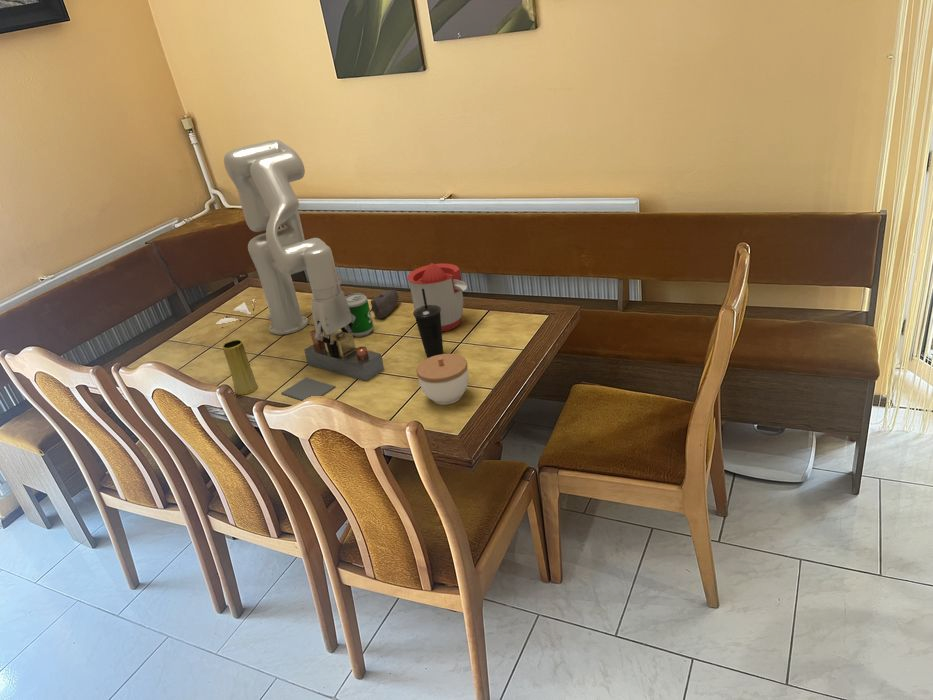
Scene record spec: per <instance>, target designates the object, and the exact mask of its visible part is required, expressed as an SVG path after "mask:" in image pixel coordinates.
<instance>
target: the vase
mask: <svg viewBox="0 0 933 700" xmlns="http://www.w3.org/2000/svg"><path fill="white" fill-rule="evenodd" d="M222 350H223V353H224V356H225V359H226V363H227V365H228V368H229V371H230V373H231V378H232V382H233V383H232V384H233V388H234V391H235V394H237V395H242V396H244V394H245V395H249V394H252V393H253V392H254V391H256V390H257V389H258V388H259V387H258V384H257V381H256V378H255V375H254V372H253V369H252V367H251V364H250V361H249V357H248V355H247V353H246V349H245V347H244V343H243V341H242V340H241V339H232V340H229V341H226V342H225V343H223V345H222Z"/></svg>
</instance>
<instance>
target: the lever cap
mask: <svg viewBox="0 0 933 700" xmlns="http://www.w3.org/2000/svg"><path fill="white" fill-rule="evenodd" d="M328 339H329V335H328ZM334 343H336V346H337V350H338V354H339V357H343V358H344V357H345V356H344V355H346V354H347V353H349V352H351V351H352V350H354V349H356V348H357V347H356V344H355V340H354V335H352V334H350V333H346V332H342V331H341V330H338V331H336V332H334ZM325 347H326V351H327V353H328V354H329V351H328V348H327V344H326V343H325Z"/></svg>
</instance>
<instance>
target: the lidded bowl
mask: <svg viewBox="0 0 933 700" xmlns="http://www.w3.org/2000/svg"><path fill="white" fill-rule="evenodd" d="M468 368H469V367H468V360H467V359H466V358H465V357H464V356H462V355H460V354H455V353H443V354H441V355H436V356H432V357H430V358H427V357H426V358H425V359H424V360H422V361H421V362H420V363H419V364H418V365H417V367H416V368H415V369H416V375H417V378H418V383H419V385H420V389H421V390H422V392H423V393H424V395H425V396H426V397H427V399H430V400H431V401H433V402H434V403H435V404H437V405H440V406H441V405H443V406H445V405H446V406H447V405H451V404H455V403H457V402H458V401H459V400H460V399H461V398H462V396H463V395H464V393H465V392H466V391H467V388H468V383H469V370H468Z"/></svg>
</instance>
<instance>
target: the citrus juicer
mask: <svg viewBox="0 0 933 700" xmlns="http://www.w3.org/2000/svg"><path fill="white" fill-rule="evenodd" d="M407 281H408V282H409V283H408V284H409V288H410V293H411V298H412V299H411V300H412V304H413V308H414V310H416V309H417V308H419V307H421V306H424V305H425V304H424V299H423V294H422V289H424V291H425V296H426V302H427V305H436V306H439V307H440V308H441V312H440V316H441V329H442V332H448V331H451V330H452V329H454V328H457V327H458V326H459V325H460V324H461V323H462V318H463V311H464V295H463V292H465V291H466V290H467V289H468V285H467V283H466V282H465V281H463V280H462V277H461V269H460V267H459V266H458V265H455V264H453V263H433V262H432V263H429V264H427V265H423V266H420V267H418V268H415V269H413V270H412V271H411V272H409V273H408V274H407Z"/></svg>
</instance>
